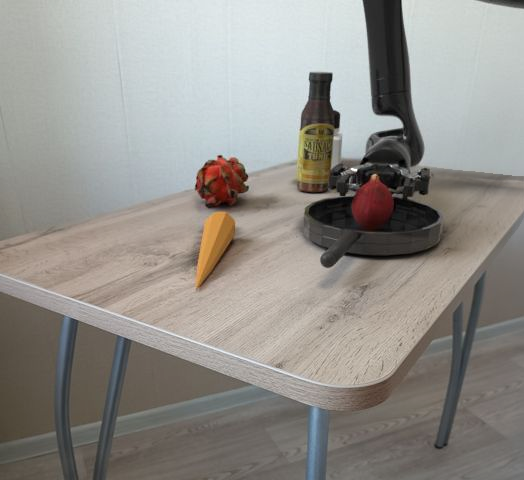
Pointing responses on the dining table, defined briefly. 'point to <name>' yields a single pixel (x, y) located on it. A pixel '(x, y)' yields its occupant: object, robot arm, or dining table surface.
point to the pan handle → (339, 249)
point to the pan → (383, 238)
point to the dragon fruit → (221, 181)
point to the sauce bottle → (316, 135)
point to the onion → (372, 204)
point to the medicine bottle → (336, 141)
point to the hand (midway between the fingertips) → (373, 190)
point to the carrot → (214, 243)
